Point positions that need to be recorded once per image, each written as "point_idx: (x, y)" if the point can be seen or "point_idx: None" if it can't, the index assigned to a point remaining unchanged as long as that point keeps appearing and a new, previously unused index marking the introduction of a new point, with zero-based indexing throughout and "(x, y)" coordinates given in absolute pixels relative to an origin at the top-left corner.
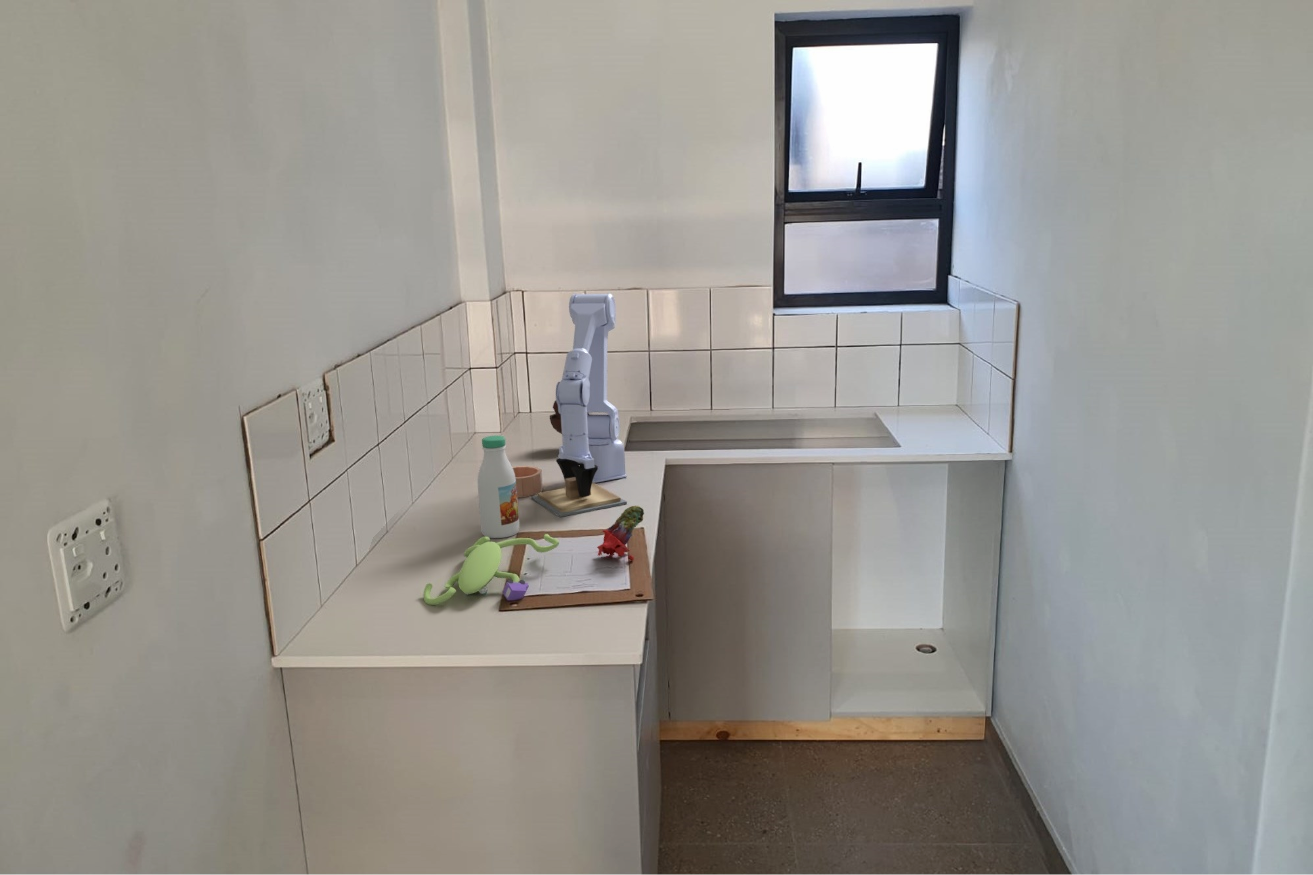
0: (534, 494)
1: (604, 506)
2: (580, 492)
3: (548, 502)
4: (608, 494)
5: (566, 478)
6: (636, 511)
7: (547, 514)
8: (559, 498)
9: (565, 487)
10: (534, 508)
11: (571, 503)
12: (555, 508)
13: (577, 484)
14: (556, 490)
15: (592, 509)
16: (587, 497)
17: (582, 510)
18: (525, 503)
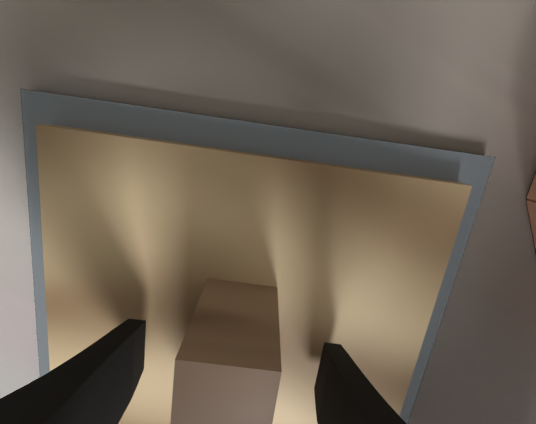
0: (528, 203)
1: (40, 355)
2: (105, 335)
3: (276, 156)
4: None
5: (348, 400)
6: None
7: (132, 58)
8: (260, 233)
9: (276, 320)
10: (298, 57)
11: (118, 235)
12: (161, 138)
13: (88, 371)
14: (416, 302)
15: (38, 292)
16: (164, 356)
17: (32, 239)
18: (433, 66)
